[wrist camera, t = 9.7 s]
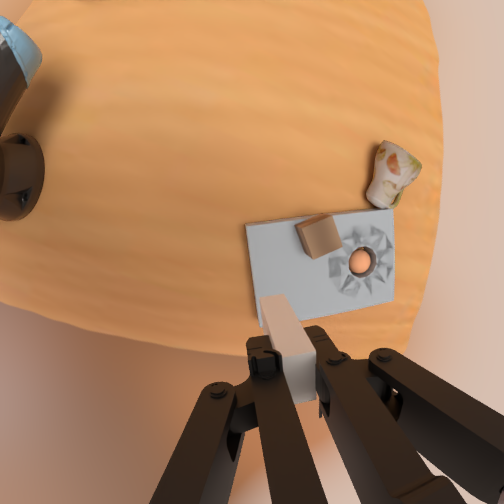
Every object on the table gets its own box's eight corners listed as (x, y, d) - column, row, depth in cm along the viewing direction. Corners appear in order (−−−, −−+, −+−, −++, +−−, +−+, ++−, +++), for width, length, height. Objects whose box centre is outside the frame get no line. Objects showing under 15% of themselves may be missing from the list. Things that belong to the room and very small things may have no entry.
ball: (347, 274, 38) (371, 269, 36) (343, 250, 39) (367, 245, 37) (351, 276, 41) (373, 272, 39) (347, 254, 42) (369, 249, 40)
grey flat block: (257, 317, 41) (259, 327, 38) (244, 223, 39) (246, 226, 35) (383, 293, 42) (393, 300, 39) (381, 207, 40) (392, 209, 36)
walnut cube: (304, 253, 36) (313, 260, 32) (294, 224, 36) (301, 228, 32) (331, 241, 36) (342, 246, 32) (321, 213, 36) (332, 215, 32)
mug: (348, 200, 39) (378, 161, 30) (366, 160, 42) (392, 121, 33) (389, 226, 39) (426, 194, 29) (402, 183, 42) (433, 150, 32)
